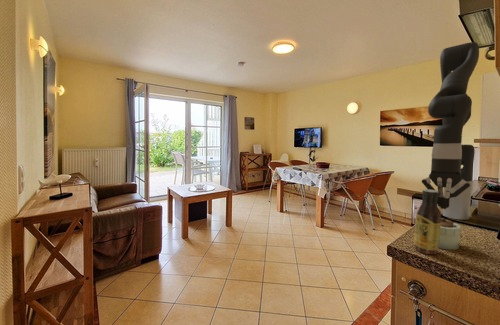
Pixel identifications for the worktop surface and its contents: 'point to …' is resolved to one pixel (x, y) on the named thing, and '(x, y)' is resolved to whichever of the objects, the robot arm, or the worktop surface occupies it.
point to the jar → (449, 237)
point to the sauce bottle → (428, 223)
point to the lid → (446, 223)
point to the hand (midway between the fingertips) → (443, 208)
